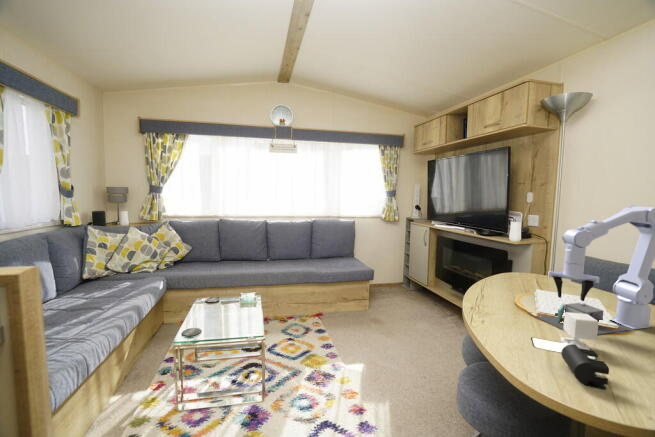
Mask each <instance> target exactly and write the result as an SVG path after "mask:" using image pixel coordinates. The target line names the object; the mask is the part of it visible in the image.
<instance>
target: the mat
mask: <svg viewBox="0 0 655 437" xmlns="http://www.w3.org/2000/svg"><path fill="white" fill-rule="evenodd" d="M530 313H531V312H527V314H528V315H530V316H532V317H535V319H537V320H541V321H543V322H545V323H547V324H549V325H551V326H553V327H555V328H557V329H559V330H562V331H564V329H563V327H564V324H563V323H560V322H562V321H563V322H564V319H561V320H560V322H557V317H551V316H549V317H547V316H541V317H540V316H534V315H532V314H530ZM619 325H620V324H619ZM625 330H630V331H632V329H631V328H628V327H626V326H623V325H620V326H619V327H618V328H617V329H610V328H607V327H602V326H598V332H597V336H600V335H607V334H613V333H612V332H616V333H620V332H619V331H623V332H626V331H625ZM564 332H565V331H564Z"/></svg>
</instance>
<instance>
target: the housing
mask: <svg viewBox="0 0 655 437" xmlns="http://www.w3.org/2000/svg"><path fill="white" fill-rule="evenodd" d="M564 304H565V303H564ZM565 312H569V313H582V314H588V315H589V316H591V317H593V318H594V319H596V320H597V321H598V322H599V320H603V319H604V310H603V309H601V308H597V307H595V306H593V305H590V304H587V303H585V302H574V303H567V304H565Z"/></svg>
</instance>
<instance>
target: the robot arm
mask: <svg viewBox="0 0 655 437" xmlns="http://www.w3.org/2000/svg"><path fill="white" fill-rule="evenodd" d="M627 223H629V225H632V227H634V228H635V229H637V230H638V232H639V233H640V234H639V238H638V240H637V243H636V246H635V249H634V251H633V254H632V257H631V261H630V264H629V266H628V269H627V273H624V274H621V275H619V276H618V277H617V278H618V279H617V281H616V282H614V283H613V286H612V291H613V293H614V295H615V297H616V299H617V302H616V304H617V305H616V311H615V317H614V318H612V319H613V320H614V321H615V322H617V323H616V324H618V323H619V324H618V325H620V324H621V326H623V327H626V328H629V329H631V330H639V329H645V328H652V327H653V326H652V324H650V319H651V311H652V310H651V305H649V304H650V303H651V301H652V300H653V299H654V292H653V291H654V287H655V286H654V284H653V283H652V281H650V280H649V275H650V273H651V269H652V267H653V263H654V261H655V206H639V205H629V206H627V207H624V208H622V209H621V211H619V212H617V213H615V214H613V215H612V216H610V217H608V218H606V219H604V220H599V219H597V220H595V219H592V220H590V221H589V223H586V224H584V225H580V226H578V227H577V228H576V229H573V228H570V229H568V230H566V231H565V232H564V234H563V236H562V237H561V239H562V242H563V243H564V248H565V250H564V258H563V259H564V261H563V262H564V263H563V270H562V271H556V270H555V271H554V270H553V271H552V270H548V272H547V277H548V278H552V279H553V281H554V283H555V286H556V290H557V291H556V292H557V297H558V299H559V298H560V299H561V298H562V288H563V282H564V281H563V279H564V280H565V279H567V280H575V281H581V292H580V297H579V298H580V300H581V301H582V302H585V299H586V297H587V295H588V293H589V292H590V291H591V289H592V288H593V287H594V286H595V284H600V277H599V276H596V275H591V274H584V271H585V270H584V269H585V261H586V250H587V247H589V246H590V245H591V243H592V242H593V241H594V240H596V239H599V238H601V237H603V236H605V235H606V236H607V234H608V233H609V230H612V229H614V228H617V227H620V226H622V225H625V224H627ZM615 322H614V323H615Z"/></svg>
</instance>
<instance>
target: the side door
mask: <svg viewBox="0 0 655 437" xmlns="http://www.w3.org/2000/svg"><path fill="white" fill-rule="evenodd" d="M557 310H558V313H555V316H558V318H557V322H560V320H561V319H562V315H563V313H564V310H565V303H562V304H561V305H560V307H559V308H558V309H557Z"/></svg>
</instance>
